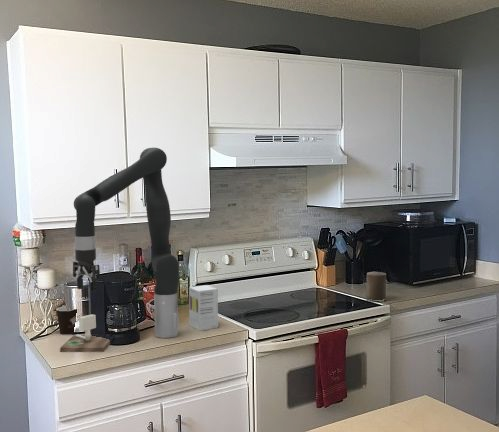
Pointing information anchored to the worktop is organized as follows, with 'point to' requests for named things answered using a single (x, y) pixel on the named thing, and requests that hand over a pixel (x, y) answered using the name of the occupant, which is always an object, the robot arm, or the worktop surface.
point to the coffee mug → (66, 320)
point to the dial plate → (85, 344)
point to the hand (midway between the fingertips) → (86, 290)
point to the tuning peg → (87, 326)
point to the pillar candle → (376, 286)
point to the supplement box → (203, 307)
